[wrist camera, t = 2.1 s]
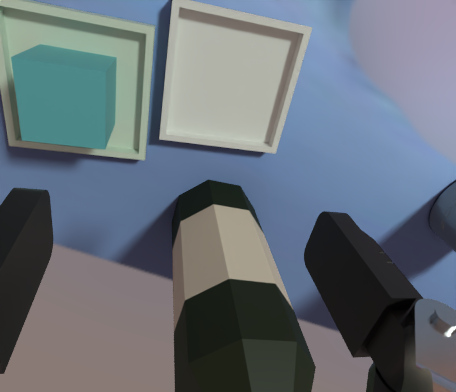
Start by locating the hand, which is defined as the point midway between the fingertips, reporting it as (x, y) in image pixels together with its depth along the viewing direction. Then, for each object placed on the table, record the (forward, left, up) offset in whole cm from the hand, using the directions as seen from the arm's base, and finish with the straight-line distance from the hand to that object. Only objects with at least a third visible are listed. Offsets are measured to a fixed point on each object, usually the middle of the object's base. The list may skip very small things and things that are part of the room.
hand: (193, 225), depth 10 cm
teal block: (+7, +2, -18) cm, 20 cm away
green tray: (+7, +2, -19) cm, 20 cm away
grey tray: (-4, 0, -19) cm, 19 cm away
